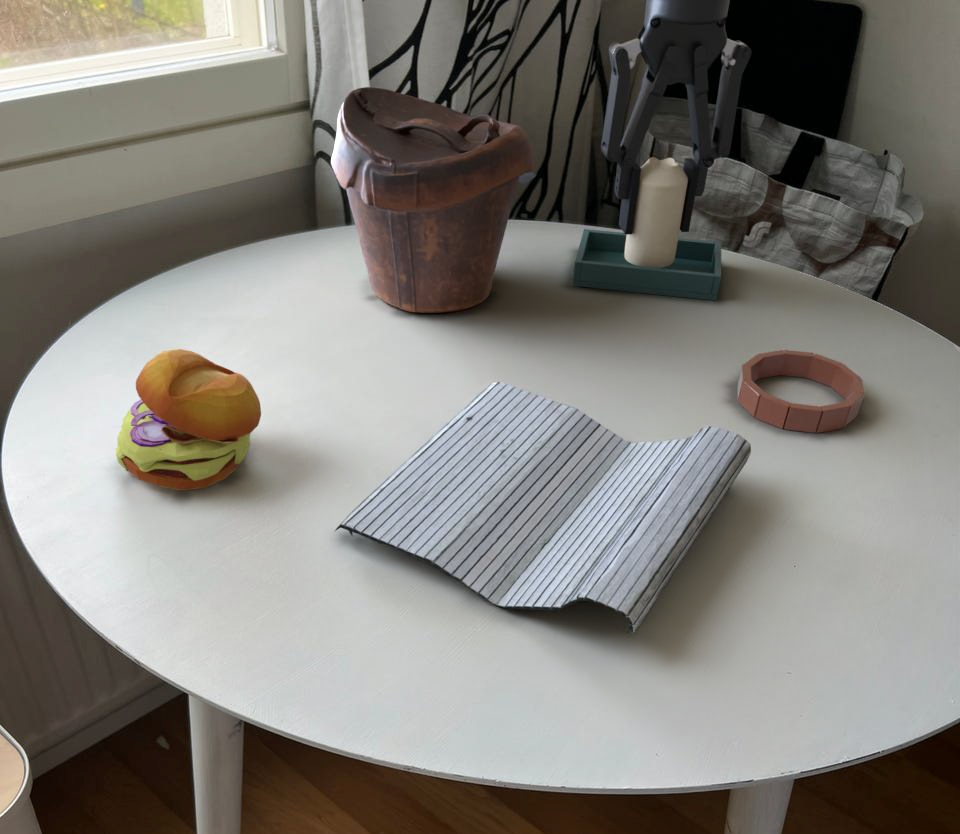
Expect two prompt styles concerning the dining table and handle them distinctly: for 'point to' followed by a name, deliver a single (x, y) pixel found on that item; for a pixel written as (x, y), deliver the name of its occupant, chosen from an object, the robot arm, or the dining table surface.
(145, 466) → the cheeseburger
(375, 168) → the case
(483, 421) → the mat
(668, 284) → the tray
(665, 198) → the candle
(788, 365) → the faceted band ring
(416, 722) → the dining table surface
